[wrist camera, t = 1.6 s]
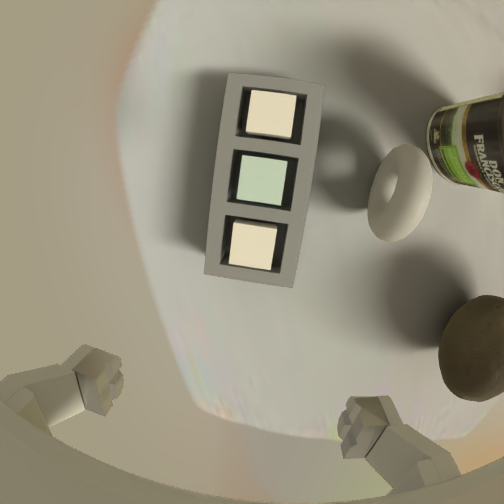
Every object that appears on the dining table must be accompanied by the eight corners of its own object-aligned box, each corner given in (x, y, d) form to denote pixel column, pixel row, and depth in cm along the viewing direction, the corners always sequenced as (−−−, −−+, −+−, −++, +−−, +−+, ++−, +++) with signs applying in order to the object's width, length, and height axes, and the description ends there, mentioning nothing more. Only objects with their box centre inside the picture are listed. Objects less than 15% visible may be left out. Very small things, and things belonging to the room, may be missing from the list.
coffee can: (453, 201, 28) (529, 225, 15) (410, 132, 27) (485, 120, 13) (493, 157, 25) (565, 164, 12) (455, 92, 24) (526, 71, 10)
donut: (379, 141, 27) (420, 133, 18) (404, 153, 27) (451, 151, 18) (353, 223, 30) (384, 248, 21) (379, 233, 30) (416, 260, 21)
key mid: (244, 155, 26) (242, 155, 24) (286, 161, 26) (287, 161, 24) (239, 196, 27) (236, 198, 25) (280, 202, 27) (280, 205, 25)
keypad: (236, 86, 27) (228, 72, 22) (317, 97, 27) (324, 85, 22) (214, 258, 33) (203, 274, 28) (290, 270, 33) (292, 288, 28)
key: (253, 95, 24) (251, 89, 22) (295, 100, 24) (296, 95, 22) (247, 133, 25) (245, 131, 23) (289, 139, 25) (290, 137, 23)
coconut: (500, 299, 31) (554, 345, 17) (451, 367, 35) (488, 426, 21) (459, 259, 30) (529, 308, 16) (401, 341, 34) (443, 416, 20)
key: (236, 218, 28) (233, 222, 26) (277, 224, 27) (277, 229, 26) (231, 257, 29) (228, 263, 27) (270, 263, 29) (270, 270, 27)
